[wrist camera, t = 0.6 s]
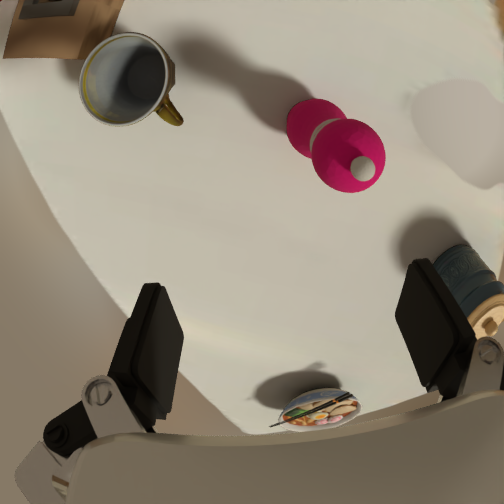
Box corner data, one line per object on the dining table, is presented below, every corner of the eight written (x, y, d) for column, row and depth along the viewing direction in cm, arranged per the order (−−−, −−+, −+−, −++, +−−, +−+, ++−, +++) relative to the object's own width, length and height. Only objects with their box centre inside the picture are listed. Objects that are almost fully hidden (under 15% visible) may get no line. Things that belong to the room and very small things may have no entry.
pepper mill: (272, 133, 35) (295, 193, 19) (299, 86, 32) (350, 99, 15) (320, 158, 37) (376, 235, 21) (346, 113, 34) (429, 157, 17)
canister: (483, 255, 47) (528, 312, 32) (448, 299, 53) (483, 360, 39) (453, 233, 44) (506, 297, 29) (414, 285, 50) (452, 356, 36)
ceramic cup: (103, 84, 30) (63, 92, 22) (151, 27, 26) (120, 15, 18) (170, 141, 36) (146, 163, 27) (223, 87, 32) (213, 90, 24)
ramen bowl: (304, 417, 82) (306, 439, 75) (256, 397, 73) (256, 424, 66) (373, 387, 73) (379, 411, 66) (335, 360, 63) (341, 390, 56)
